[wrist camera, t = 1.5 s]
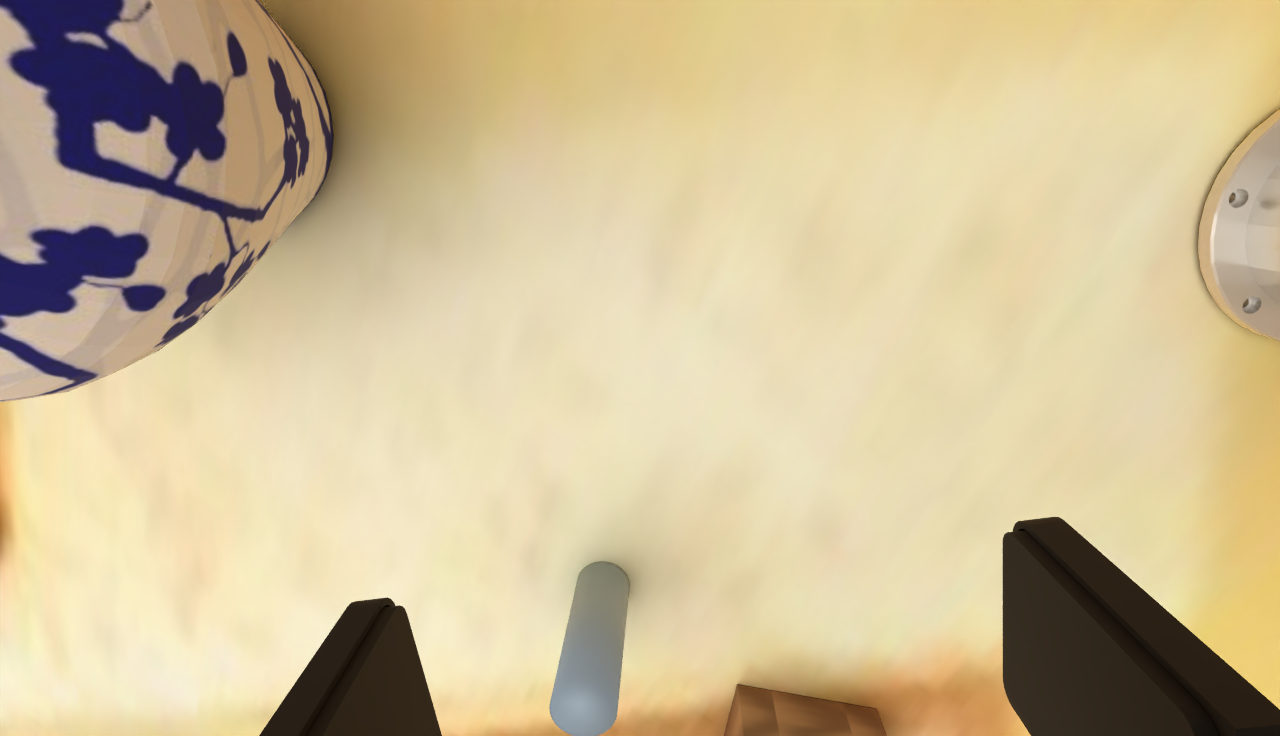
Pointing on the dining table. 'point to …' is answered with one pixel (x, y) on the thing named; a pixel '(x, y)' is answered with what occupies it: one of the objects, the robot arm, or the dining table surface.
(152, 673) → the dining table surface
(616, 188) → the dining table surface
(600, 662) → the peg
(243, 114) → the vase
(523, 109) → the dining table surface
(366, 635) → the robot arm
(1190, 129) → the dining table surface
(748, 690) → the box with hole
